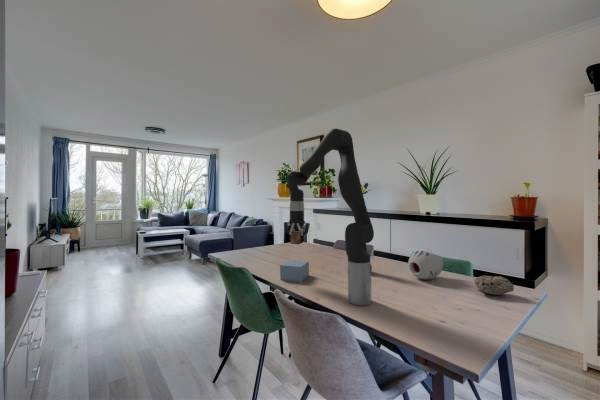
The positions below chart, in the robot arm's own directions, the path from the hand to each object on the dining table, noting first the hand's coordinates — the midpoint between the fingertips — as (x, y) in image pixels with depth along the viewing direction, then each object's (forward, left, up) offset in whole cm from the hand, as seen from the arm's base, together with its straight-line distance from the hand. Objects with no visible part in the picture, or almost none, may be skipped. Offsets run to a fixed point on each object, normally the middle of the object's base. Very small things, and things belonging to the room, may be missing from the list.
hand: (296, 241), depth 143 cm
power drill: (-27, -28, -21) cm, 44 cm away
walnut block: (0, 0, -1) cm, 1 cm away
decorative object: (-64, -24, -21) cm, 71 cm away
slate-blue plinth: (+3, -4, -21) cm, 21 cm away
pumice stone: (-89, -8, -21) cm, 92 cm away
